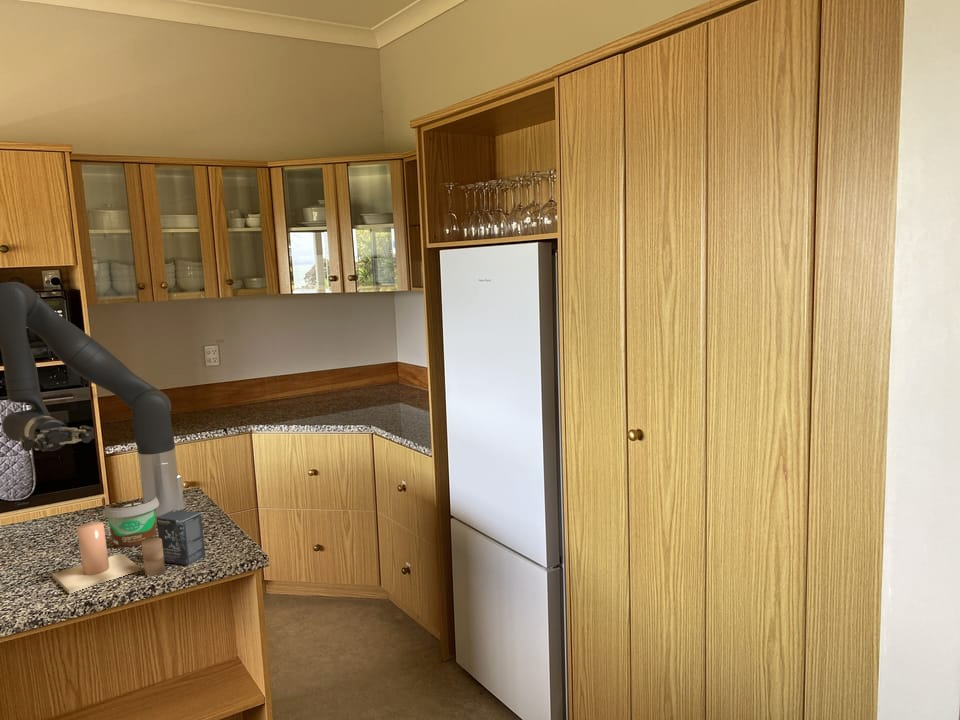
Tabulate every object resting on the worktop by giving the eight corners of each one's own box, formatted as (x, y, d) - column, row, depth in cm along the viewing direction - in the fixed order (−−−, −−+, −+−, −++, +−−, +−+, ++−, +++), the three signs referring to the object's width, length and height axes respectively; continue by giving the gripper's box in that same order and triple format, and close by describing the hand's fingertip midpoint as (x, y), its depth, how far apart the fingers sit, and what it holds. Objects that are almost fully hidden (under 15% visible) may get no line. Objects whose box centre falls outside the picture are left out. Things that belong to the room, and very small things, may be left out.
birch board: (121, 557, 164) (121, 553, 163) (140, 571, 155) (140, 567, 155) (52, 578, 154) (52, 573, 154) (69, 594, 145) (68, 589, 145)
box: (160, 562, 159) (155, 517, 158) (179, 552, 165) (174, 508, 163) (188, 566, 157) (182, 520, 155) (206, 556, 162) (201, 511, 160)
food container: (109, 554, 166) (104, 513, 164) (107, 546, 171) (102, 506, 170) (166, 541, 172) (161, 501, 171) (162, 534, 177) (158, 495, 176)
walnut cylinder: (161, 566, 157) (157, 536, 156) (168, 571, 154) (164, 540, 153) (142, 572, 154) (138, 541, 153) (149, 577, 152) (145, 546, 151)
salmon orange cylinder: (105, 563, 158) (99, 520, 157) (112, 569, 154) (106, 525, 153) (80, 570, 155) (74, 526, 153) (87, 577, 151) (80, 532, 150)
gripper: (9, 422, 165) (28, 432, 153) (77, 411, 175) (99, 419, 163) (13, 454, 166) (32, 466, 154) (80, 441, 176) (103, 451, 164)
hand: (66, 442), depth 159 cm, fingers open, 8 cm apart
